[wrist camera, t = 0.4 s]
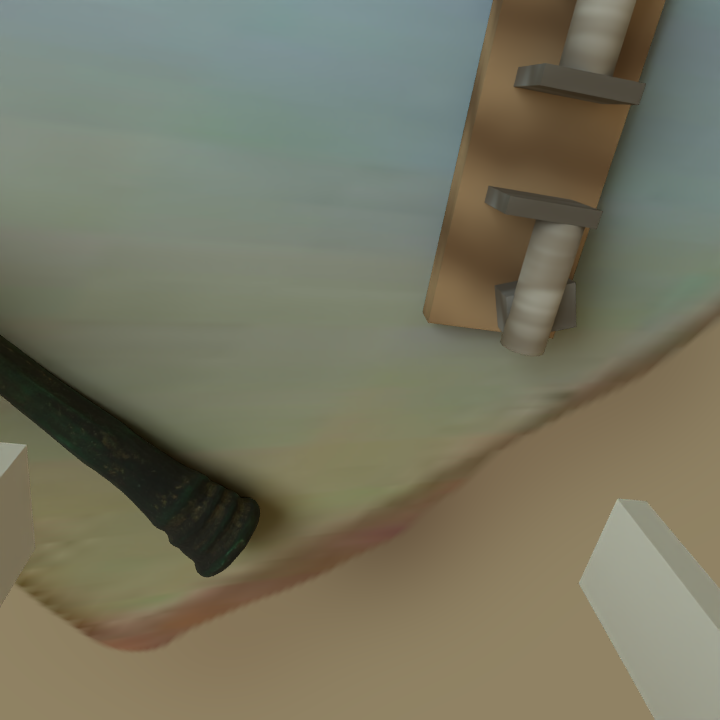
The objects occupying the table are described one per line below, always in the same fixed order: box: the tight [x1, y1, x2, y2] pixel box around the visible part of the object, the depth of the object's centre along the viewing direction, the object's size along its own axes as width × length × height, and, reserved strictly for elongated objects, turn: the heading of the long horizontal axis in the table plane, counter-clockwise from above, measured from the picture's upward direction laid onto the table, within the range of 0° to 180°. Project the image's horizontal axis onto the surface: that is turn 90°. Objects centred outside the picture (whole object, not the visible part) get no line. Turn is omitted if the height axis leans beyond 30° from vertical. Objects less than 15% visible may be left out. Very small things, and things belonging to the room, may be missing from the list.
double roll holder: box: [423, 0, 666, 356], centre depth 32 cm, size 24×9×6 cm, turn 170°
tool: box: [0, 335, 260, 577], centre depth 38 cm, size 28×6×7 cm, turn 40°
